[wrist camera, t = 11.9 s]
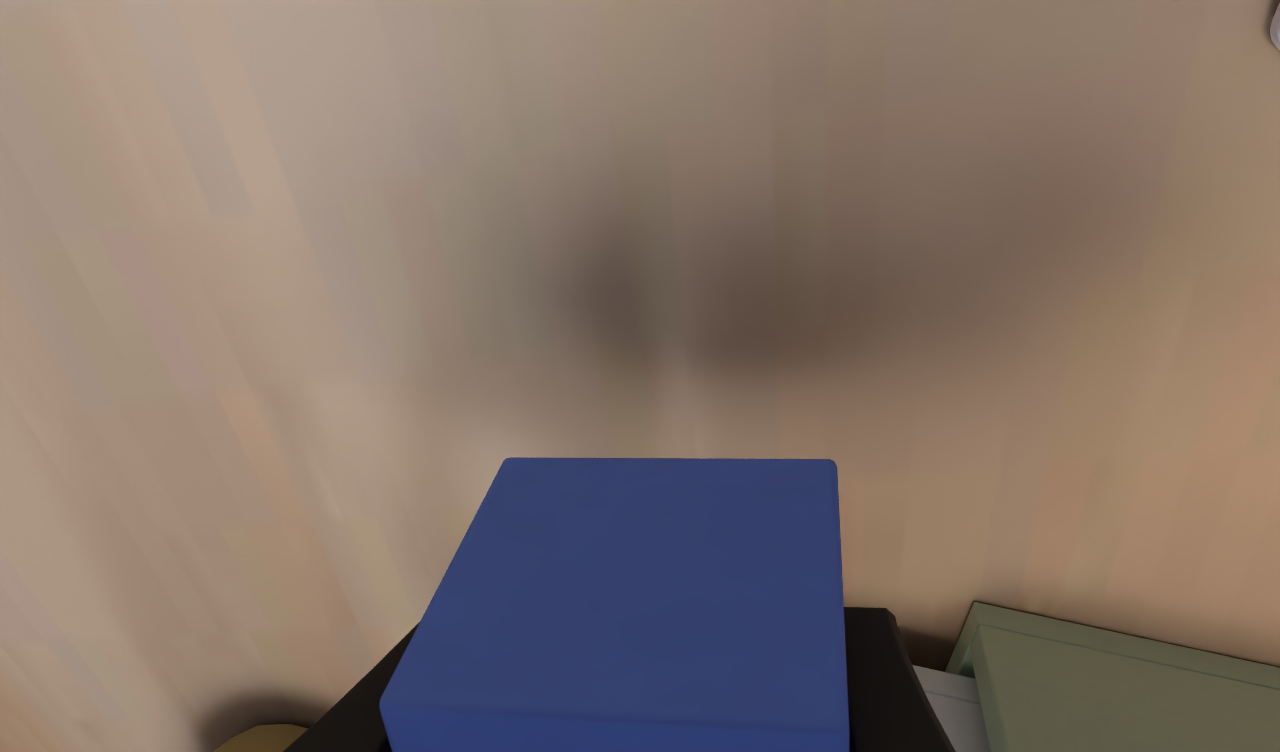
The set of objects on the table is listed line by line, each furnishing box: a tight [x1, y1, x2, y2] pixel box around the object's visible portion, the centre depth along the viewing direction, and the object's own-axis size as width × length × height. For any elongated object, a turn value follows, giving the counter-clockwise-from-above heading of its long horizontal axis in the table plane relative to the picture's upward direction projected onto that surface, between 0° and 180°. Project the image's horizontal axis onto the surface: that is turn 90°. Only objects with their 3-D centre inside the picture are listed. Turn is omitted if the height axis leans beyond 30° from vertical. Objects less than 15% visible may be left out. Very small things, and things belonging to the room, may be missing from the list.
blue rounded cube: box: [380, 458, 849, 752], centre depth 12 cm, size 4×4×4 cm
